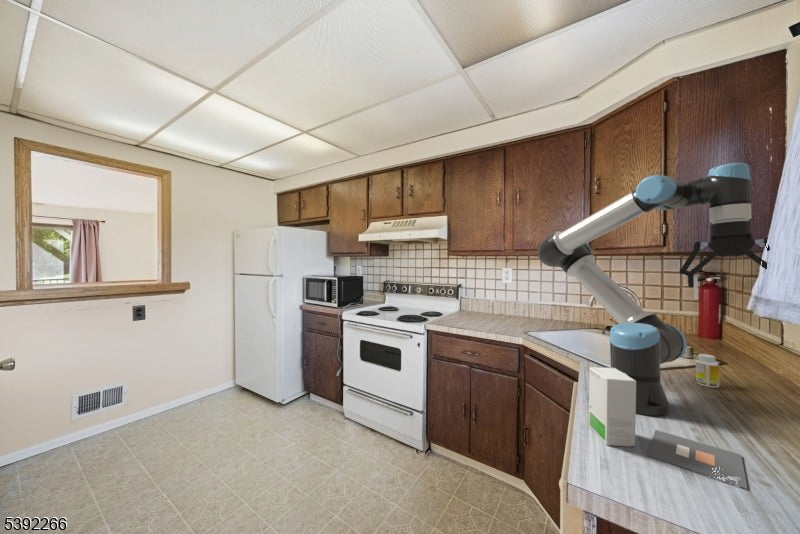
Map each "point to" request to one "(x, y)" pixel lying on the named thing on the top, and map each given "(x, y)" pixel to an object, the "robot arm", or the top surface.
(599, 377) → the skincare box
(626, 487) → the top surface
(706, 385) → the supplement bottle
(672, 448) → the mat
